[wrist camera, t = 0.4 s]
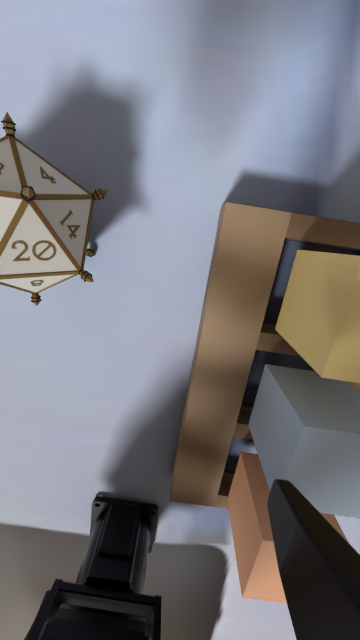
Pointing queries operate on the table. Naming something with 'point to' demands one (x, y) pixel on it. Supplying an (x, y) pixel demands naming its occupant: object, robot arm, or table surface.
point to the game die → (40, 219)
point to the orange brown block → (256, 532)
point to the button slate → (310, 436)
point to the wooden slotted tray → (237, 339)
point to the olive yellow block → (324, 313)
